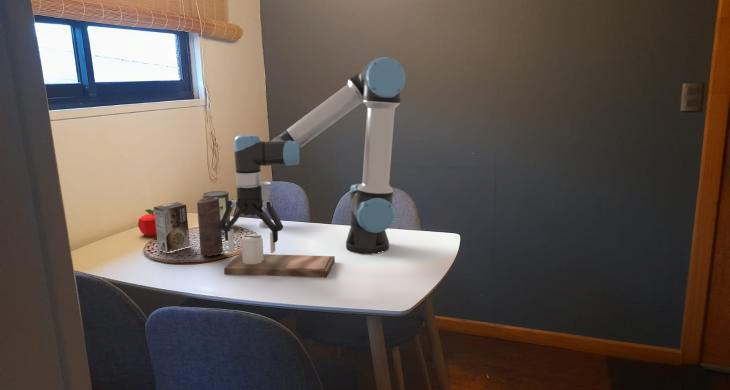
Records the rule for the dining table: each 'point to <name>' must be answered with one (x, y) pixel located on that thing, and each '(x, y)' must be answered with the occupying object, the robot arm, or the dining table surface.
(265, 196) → the chalice
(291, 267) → the post board
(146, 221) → the apple
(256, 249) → the white cylinder
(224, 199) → the coffee can
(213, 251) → the brown tall block
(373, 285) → the dining table surface
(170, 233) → the coffee box
